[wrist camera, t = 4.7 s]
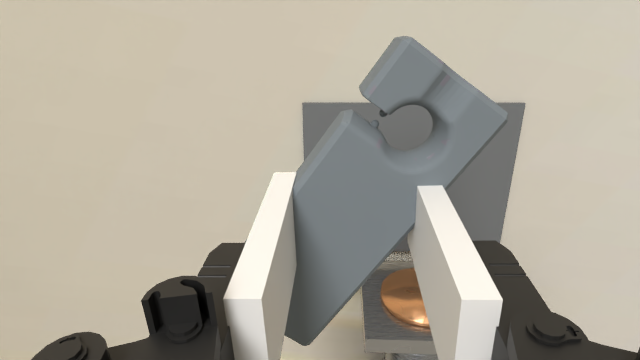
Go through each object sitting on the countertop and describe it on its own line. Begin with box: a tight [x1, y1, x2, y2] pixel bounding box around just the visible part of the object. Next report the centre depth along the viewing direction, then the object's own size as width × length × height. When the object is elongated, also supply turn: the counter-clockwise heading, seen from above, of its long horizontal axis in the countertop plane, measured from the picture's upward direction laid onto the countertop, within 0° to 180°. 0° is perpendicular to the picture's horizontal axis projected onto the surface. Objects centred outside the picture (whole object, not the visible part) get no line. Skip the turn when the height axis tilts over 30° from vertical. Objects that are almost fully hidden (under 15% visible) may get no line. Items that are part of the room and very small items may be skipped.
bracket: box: [245, 36, 508, 346], centre depth 14 cm, size 4×10×2 cm, turn 145°
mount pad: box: [302, 103, 525, 252], centre depth 29 cm, size 14×11×1 cm
